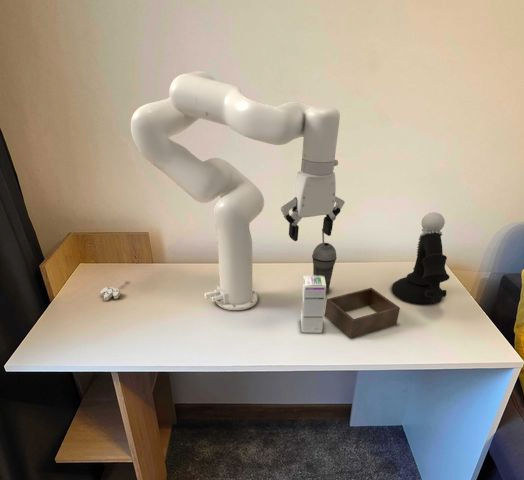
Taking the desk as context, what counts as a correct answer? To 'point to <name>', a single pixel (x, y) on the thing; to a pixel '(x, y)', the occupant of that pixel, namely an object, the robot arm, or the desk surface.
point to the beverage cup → (324, 261)
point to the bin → (365, 324)
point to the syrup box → (313, 303)
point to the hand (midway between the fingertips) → (310, 236)
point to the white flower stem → (110, 293)
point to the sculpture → (425, 266)
